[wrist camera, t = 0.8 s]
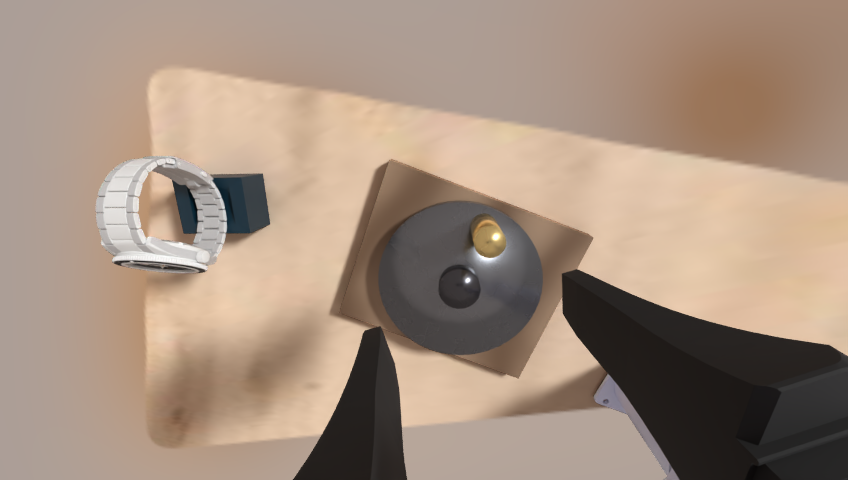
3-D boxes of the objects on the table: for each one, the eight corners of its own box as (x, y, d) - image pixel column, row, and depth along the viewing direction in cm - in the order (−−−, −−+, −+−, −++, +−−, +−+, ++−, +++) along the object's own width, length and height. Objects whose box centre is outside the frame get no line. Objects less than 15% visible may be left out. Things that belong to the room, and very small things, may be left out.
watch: (214, 245, 31) (93, 299, 21) (195, 153, 29) (50, 160, 18) (274, 245, 31) (182, 300, 20) (260, 151, 29) (149, 157, 18)
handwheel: (500, 368, 31) (510, 415, 25) (361, 317, 30) (342, 354, 25) (568, 235, 27) (596, 258, 22) (411, 175, 27) (401, 184, 21)
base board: (587, 233, 28) (593, 237, 27) (516, 370, 32) (518, 378, 31) (391, 159, 28) (389, 159, 27) (343, 306, 32) (339, 312, 31)
